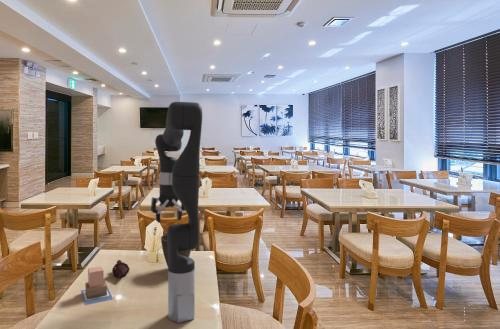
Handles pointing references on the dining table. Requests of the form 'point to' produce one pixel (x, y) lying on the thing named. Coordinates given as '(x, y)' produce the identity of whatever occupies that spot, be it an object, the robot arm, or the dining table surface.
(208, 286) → the dining table surface
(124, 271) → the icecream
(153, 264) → the dining table surface
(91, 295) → the walnut base
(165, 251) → the plant pot
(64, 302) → the dining table surface
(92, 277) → the terracotta block
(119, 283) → the dining table surface
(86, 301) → the blueprint mat
